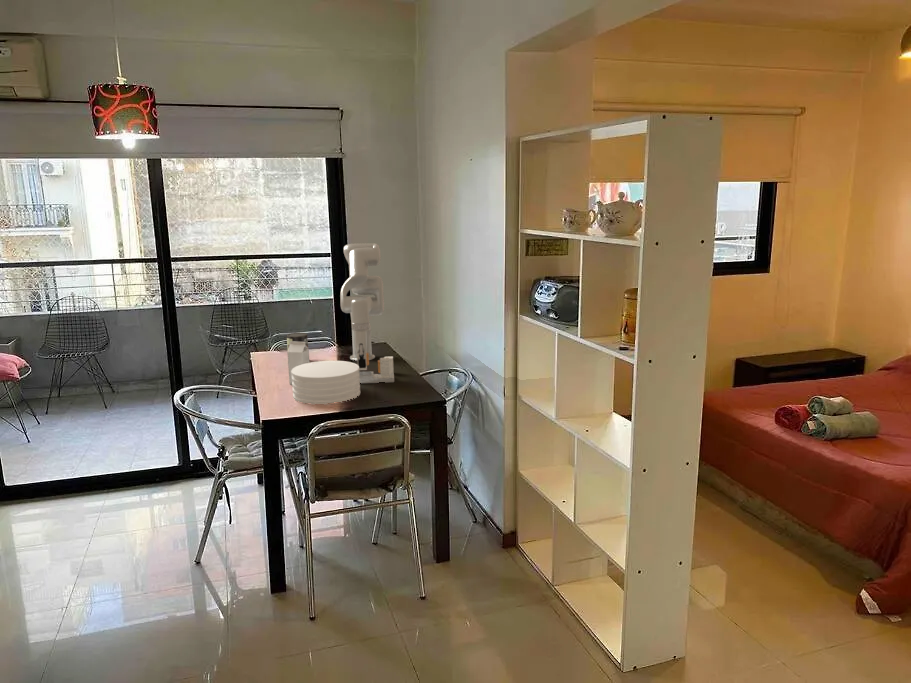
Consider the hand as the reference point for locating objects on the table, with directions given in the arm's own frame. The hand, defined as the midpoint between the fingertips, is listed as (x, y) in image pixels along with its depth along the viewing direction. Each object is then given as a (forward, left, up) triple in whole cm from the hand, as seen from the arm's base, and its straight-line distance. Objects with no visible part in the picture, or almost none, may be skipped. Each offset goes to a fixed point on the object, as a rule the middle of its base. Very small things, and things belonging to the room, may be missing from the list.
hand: (362, 366), depth 306 cm
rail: (0, +2, -7) cm, 7 cm away
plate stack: (+18, -15, -7) cm, 25 cm away
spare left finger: (-11, +12, -7) cm, 17 cm away
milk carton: (-2, -28, -7) cm, 29 cm away
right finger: (0, 0, -1) cm, 1 cm away
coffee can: (-42, -33, -7) cm, 54 cm away
